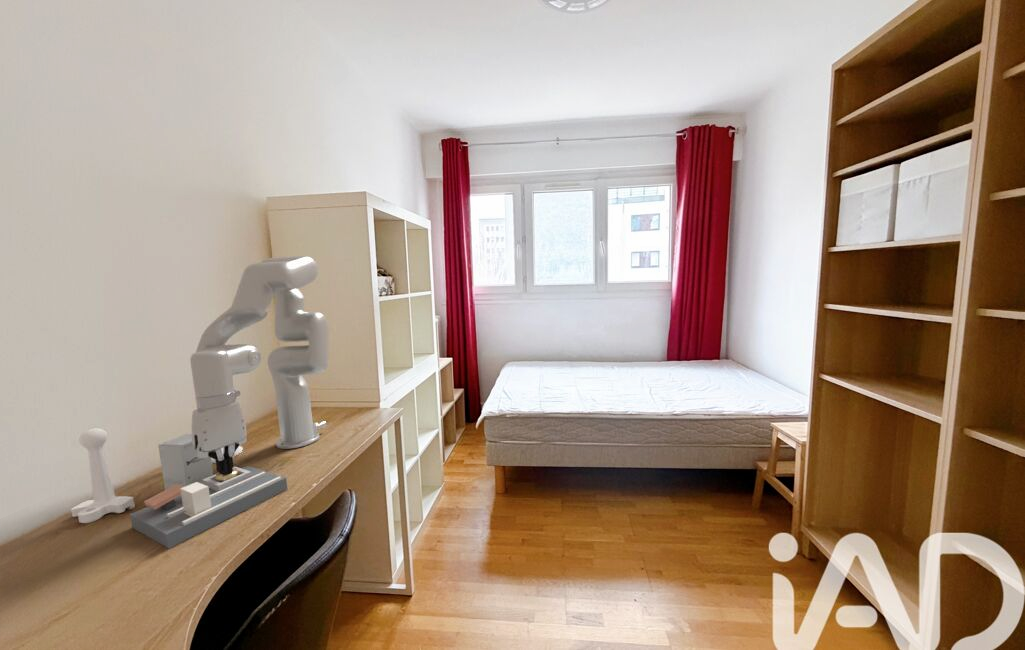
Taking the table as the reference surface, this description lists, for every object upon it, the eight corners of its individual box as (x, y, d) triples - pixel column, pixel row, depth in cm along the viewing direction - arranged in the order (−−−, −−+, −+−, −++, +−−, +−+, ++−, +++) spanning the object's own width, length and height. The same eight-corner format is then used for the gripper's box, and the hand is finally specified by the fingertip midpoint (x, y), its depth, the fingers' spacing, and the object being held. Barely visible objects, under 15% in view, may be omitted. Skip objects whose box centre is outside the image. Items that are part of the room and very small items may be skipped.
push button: (232, 474, 101) (231, 467, 100) (242, 477, 99) (241, 470, 98) (213, 482, 97) (212, 474, 97) (222, 486, 95) (221, 478, 95)
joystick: (139, 503, 95) (126, 423, 93) (109, 522, 88) (94, 436, 86) (91, 507, 95) (76, 427, 93) (57, 526, 87) (40, 439, 85)
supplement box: (187, 493, 99) (180, 445, 98) (164, 491, 101) (156, 444, 99) (215, 478, 106) (208, 433, 105) (192, 477, 108) (186, 433, 106)
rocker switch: (178, 487, 91) (176, 483, 90) (187, 491, 89) (185, 487, 88) (145, 505, 86) (144, 501, 85) (154, 509, 83) (153, 505, 83)
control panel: (249, 476, 106) (246, 460, 106) (287, 489, 98) (285, 472, 98) (132, 527, 85) (128, 507, 85) (168, 548, 77) (165, 527, 77)
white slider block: (199, 503, 87) (196, 481, 87) (211, 508, 85) (208, 486, 85) (183, 510, 85) (180, 488, 84) (195, 515, 82) (191, 493, 82)
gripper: (240, 391, 104) (249, 458, 106) (171, 408, 91) (182, 484, 93) (257, 393, 100) (265, 463, 102) (186, 412, 87) (198, 490, 89)
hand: (226, 473), depth 97 cm, fingers closed
